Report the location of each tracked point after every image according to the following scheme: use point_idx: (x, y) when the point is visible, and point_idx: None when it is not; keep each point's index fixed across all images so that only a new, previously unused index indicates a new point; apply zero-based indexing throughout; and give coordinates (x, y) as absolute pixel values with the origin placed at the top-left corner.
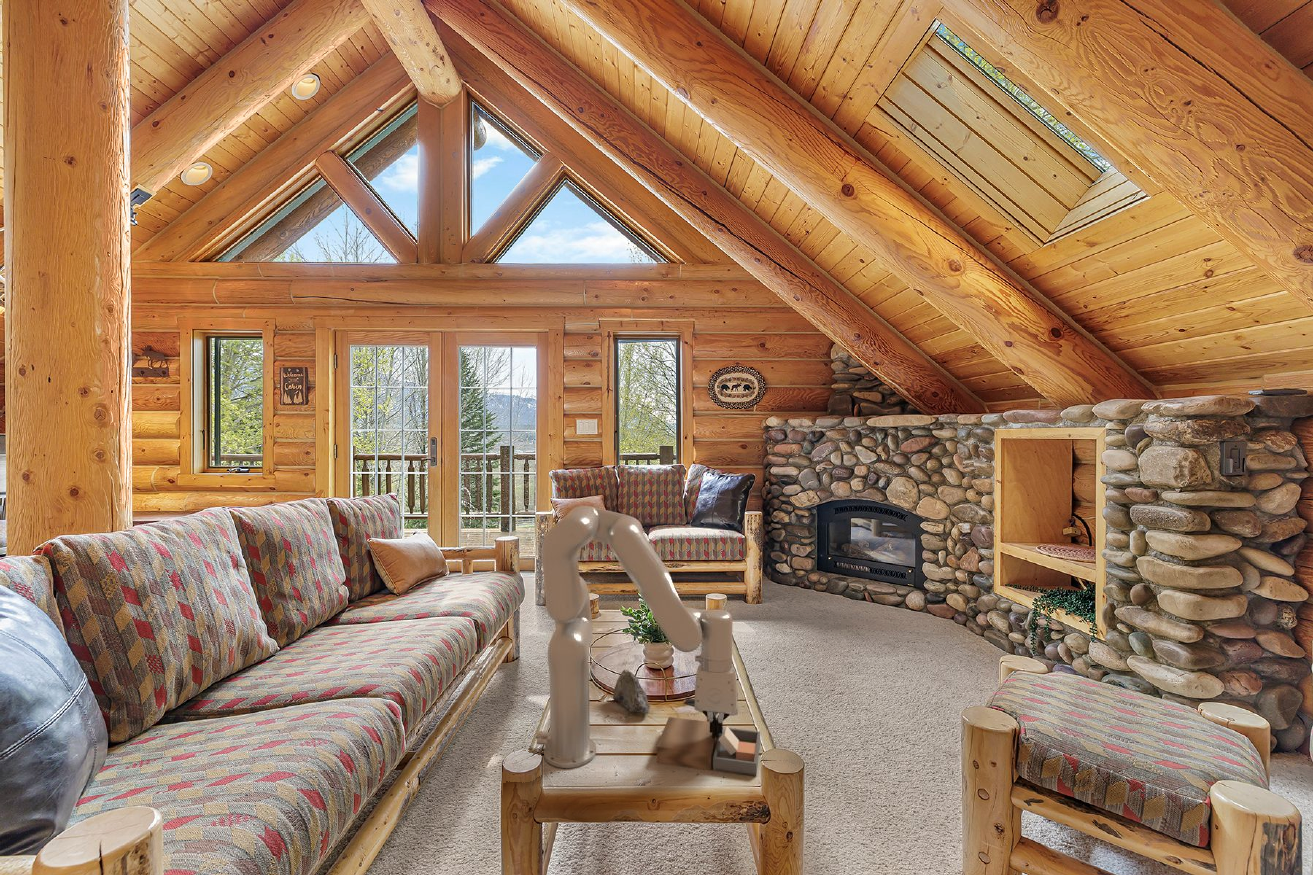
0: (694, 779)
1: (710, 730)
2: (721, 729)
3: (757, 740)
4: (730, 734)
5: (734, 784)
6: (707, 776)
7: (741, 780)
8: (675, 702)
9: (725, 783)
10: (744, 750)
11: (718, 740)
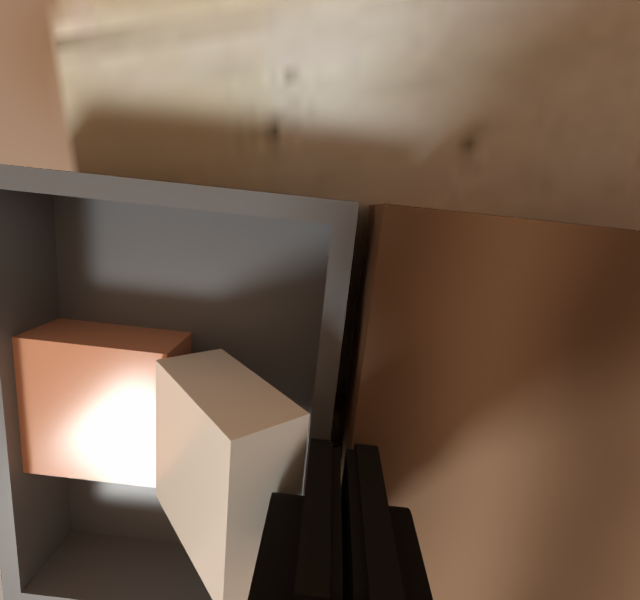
0: (495, 67)
1: (403, 520)
2: (267, 526)
3: (5, 497)
4: (194, 510)
5: (189, 44)
6: (393, 122)
7: (142, 105)
8: None
9: (256, 48)
10: (102, 373)
11: None
